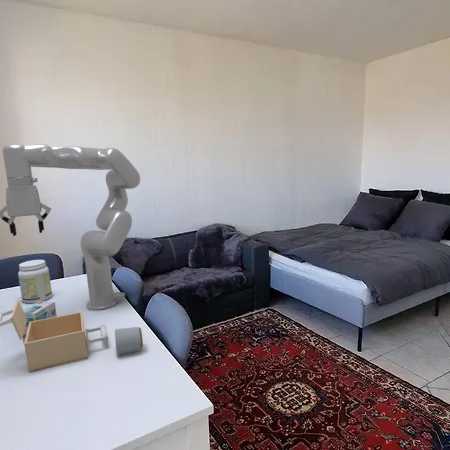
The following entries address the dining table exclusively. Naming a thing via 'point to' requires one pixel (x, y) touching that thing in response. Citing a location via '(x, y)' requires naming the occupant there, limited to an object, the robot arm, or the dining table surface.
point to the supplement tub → (34, 281)
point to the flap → (15, 319)
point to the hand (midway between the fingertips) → (28, 233)
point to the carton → (58, 341)
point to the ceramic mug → (128, 340)
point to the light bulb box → (39, 313)
